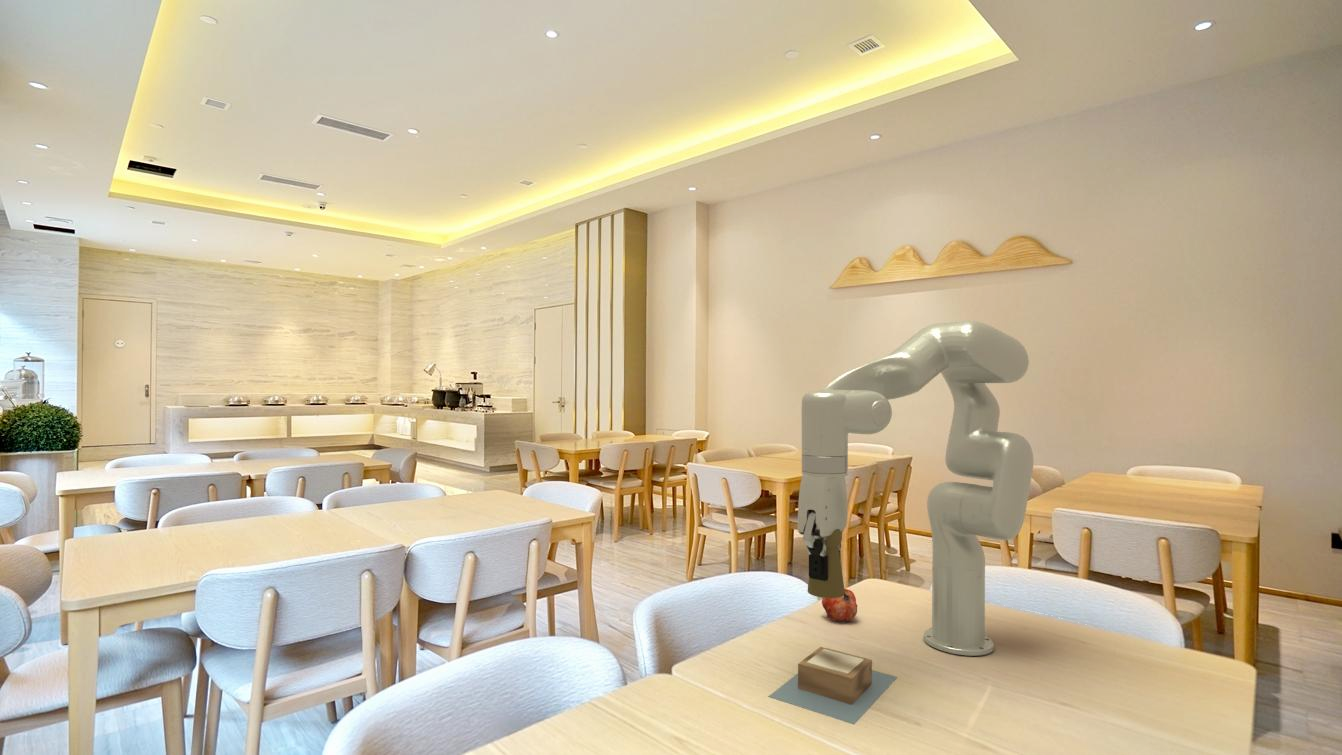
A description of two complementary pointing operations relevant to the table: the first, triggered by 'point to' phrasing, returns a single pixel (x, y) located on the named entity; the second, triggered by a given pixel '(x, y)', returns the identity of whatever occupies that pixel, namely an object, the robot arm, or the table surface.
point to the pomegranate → (841, 606)
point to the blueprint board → (831, 706)
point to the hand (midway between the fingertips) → (824, 574)
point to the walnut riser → (835, 675)
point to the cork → (830, 570)
